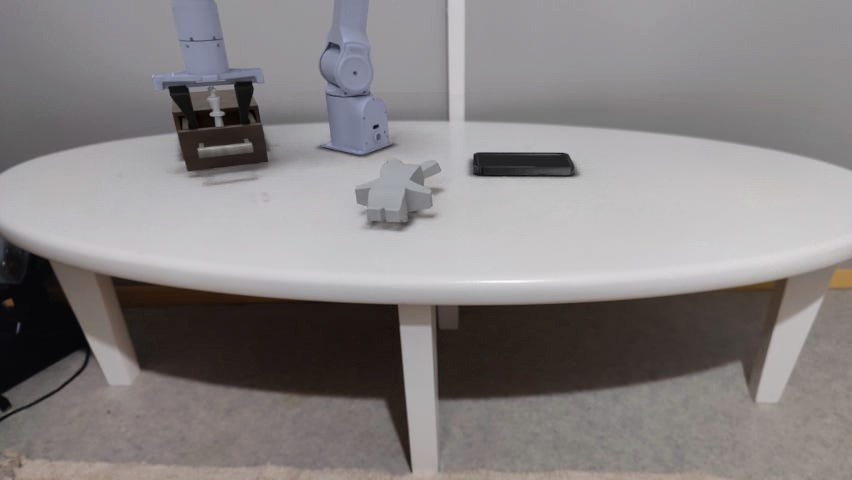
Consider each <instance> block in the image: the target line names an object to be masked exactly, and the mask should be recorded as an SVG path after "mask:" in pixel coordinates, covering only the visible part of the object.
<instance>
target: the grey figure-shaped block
mask: <svg viewBox="0 0 852 480" xmlns="http://www.w3.org/2000/svg"><path fill="white" fill-rule="evenodd" d="M441 172H442V168H441V166H440V164H439V163H438V161H437V160H435V159H434V160H432V159H430V160H427V161H424V162H422V163H421V164H418V163H407V162H405V163H404V162H403V161H402V160H401V159H399V158H396V157H390V158H387V159H386V162H384V163H382V164H381V166H380V168H379V178H376V179H374V180H371V181H368V182H365V183H362V184H358V185H355V189H354V193H355V199H356V204H357V205H360V206H363V207H366V209H365V210H366V216H367V221H372V222H388V223H407V222H408V221H409V215H408V214H409V213H411V212H416V211H423V210H429V209H431V208H433V206H434V205H433V192H432V189H429V188H428V187H425V180H426V179H428V178H430V177H433V176H434V175H436V174H439V173H441Z"/></svg>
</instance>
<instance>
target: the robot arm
mask: <svg viewBox="0 0 852 480" xmlns="http://www.w3.org/2000/svg"><path fill="white" fill-rule="evenodd" d="M369 4H370V0H333V11H332V21H331V26H330V28H329V31H328V33H327V34H326V41H325V46H324V49H323V50H322V52H321V53H320V55H319V59H318V71H319V73H320V76H322V78H323V79H324V80H325V81H326V82H327V83H326V86H325V89H324V93H325V102H326V110H327V118H328V125H329V126H328V127H329V135H330V140H328V141H324V142H321V143H320V147H321V148H326V149H330V150H335V151H340V152H344V153H348V154H354V155H359V156H364V155H367V154H369V153H373V152H374V151H377V150H381V149H382V148H386V147H389V146H391V145H393V141H392V140H390V138H389V136H390V135H389V123H388V111H387V106H386V104H385V101H384V100H383V99H382V98H381V97H379V96H376V95H375V94H373V93H372V92H371V85H372V83H373V81H374V66H373V63H372V61H371V50H372V49H371V48H372V47H371V43H370V40H369V37H368V34H367V24H368V14H369V7H370V6H369ZM170 8H171V13H172V16H173V21H174V25H175V30H176V34H177V38H178V42H179V47H180V51H181V55H182V59H183V64H184V69H185V70H183V71H174V72H166V73H153V74H151V79H152V83H153V87H154V90H155V91H157V92H158V91H164V90H168V93H169V96H170V98H171V100H172V99H173V101H174V102H175V103H176V104H177V106H178V107H179V108H180V110H181V111H182V112H183V114H184V115H185V117H186V119H187V120H188V122H189V124H190V126H191V128H192V129H199V126H198V123H197V120H196V117H195V114H194V110H193V105H192V101H191V97H190V92H191V91H190V88H200V87H209V86H214V87H215V86H230V85H233V89H235V94H236V98H237V103H238V108H239V116H240V124H241V125H242V124H247V122H248V113H249V107H250V103H251V99H252V96H253V97H254V92H255V87H254V85H253V84H259V85H260V84H265V77H264V72H263V69H262V68H261V67H251V68H250V67H249V68H248V67H246V68H244V67H243V68H242V67H241V68H240V67H239V68H236V67H235V68H230V65H229V60H228V54H227V50H226V44H225V41H224V40H225V39H224V35H223V29H222V25H221V20H220V19H221V18H220V15H219V9H218V5H217V1H215V0H171V2H170Z"/></svg>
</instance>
